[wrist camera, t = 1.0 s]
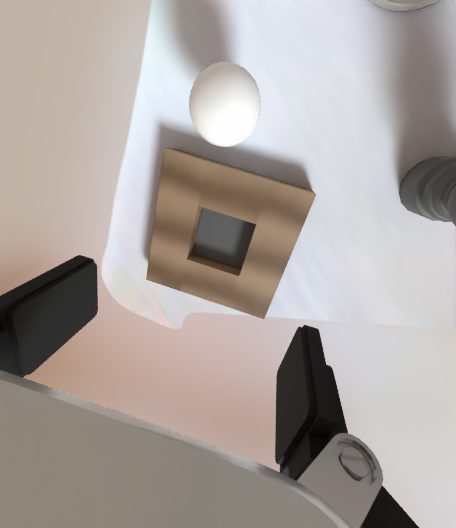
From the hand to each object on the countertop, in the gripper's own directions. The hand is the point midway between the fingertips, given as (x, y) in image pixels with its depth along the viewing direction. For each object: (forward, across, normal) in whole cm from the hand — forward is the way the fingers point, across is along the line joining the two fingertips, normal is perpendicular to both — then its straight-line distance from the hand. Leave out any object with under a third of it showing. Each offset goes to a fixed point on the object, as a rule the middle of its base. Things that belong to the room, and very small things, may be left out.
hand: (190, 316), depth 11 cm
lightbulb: (+24, +4, -9) cm, 26 cm away
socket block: (+24, +2, +5) cm, 24 cm away
